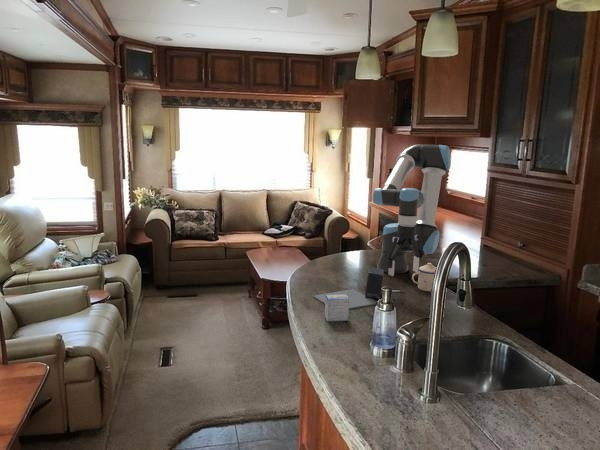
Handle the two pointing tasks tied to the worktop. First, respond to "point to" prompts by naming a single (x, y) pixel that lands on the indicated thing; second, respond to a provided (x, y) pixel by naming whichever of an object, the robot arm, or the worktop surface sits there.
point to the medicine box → (336, 307)
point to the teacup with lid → (425, 277)
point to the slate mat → (350, 298)
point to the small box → (374, 283)
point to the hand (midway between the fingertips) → (403, 273)
